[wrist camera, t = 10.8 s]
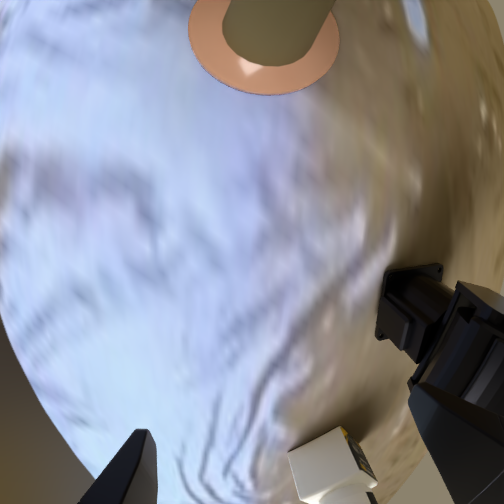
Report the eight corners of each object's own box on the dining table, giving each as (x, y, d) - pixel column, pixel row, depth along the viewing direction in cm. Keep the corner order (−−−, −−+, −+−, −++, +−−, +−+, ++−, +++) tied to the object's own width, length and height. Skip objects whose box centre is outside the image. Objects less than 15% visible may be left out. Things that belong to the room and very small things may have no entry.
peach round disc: (326, -14, 14) (330, -19, 13) (341, 99, 17) (346, 97, 17) (189, -20, 13) (189, -25, 12) (189, 99, 16) (188, 96, 16)
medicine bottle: (359, 443, 29) (393, 514, 18) (311, 468, 30) (335, 540, 19) (340, 424, 27) (379, 508, 16) (285, 452, 28) (309, 537, 16)
